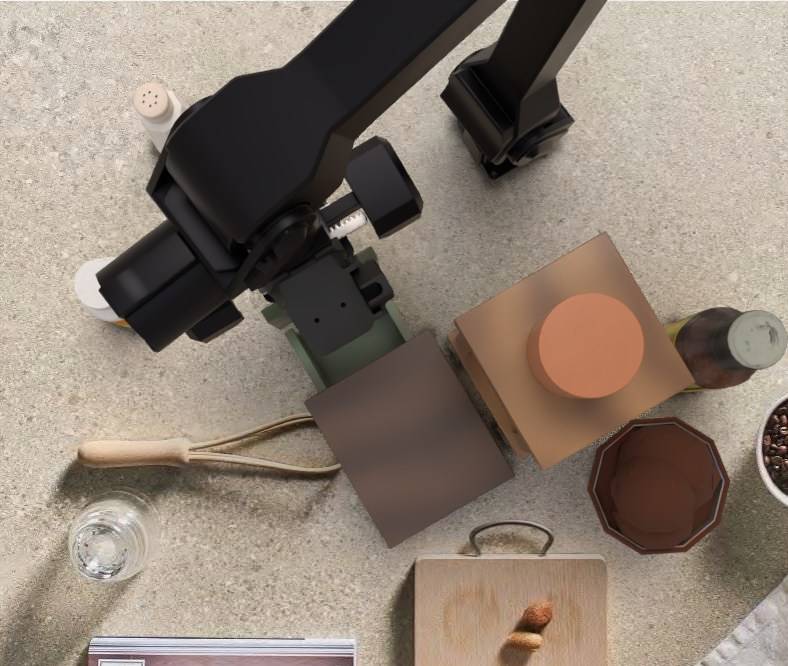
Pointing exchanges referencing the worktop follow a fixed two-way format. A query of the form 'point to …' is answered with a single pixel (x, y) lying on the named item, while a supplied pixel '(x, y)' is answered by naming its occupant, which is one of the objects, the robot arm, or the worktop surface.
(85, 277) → the supplement bottle
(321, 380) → the drawer
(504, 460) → the cabinet
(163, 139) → the salt shaker
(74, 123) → the worktop surface
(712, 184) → the worktop surface
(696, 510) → the brown polygonal jar
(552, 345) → the tin
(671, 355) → the square box with cylinder
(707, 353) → the sauce bottle
